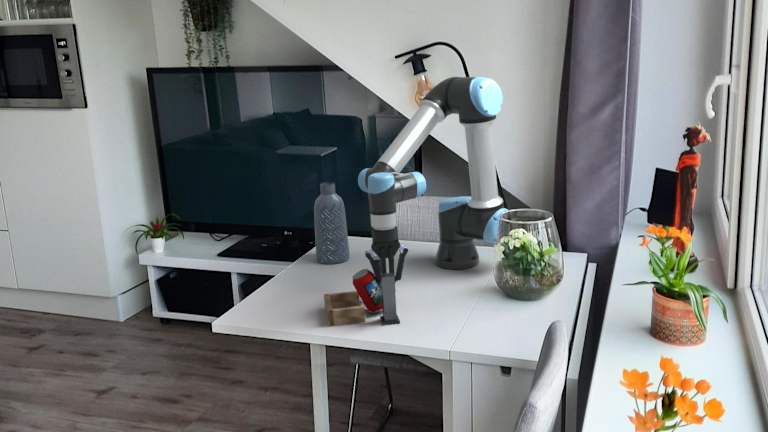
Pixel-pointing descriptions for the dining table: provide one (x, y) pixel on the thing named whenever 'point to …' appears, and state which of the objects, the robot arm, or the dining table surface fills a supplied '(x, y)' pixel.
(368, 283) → the beverage can
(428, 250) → the dining table surface
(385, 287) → the post near
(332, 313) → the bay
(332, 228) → the vase
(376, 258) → the post far
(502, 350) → the dining table surface
